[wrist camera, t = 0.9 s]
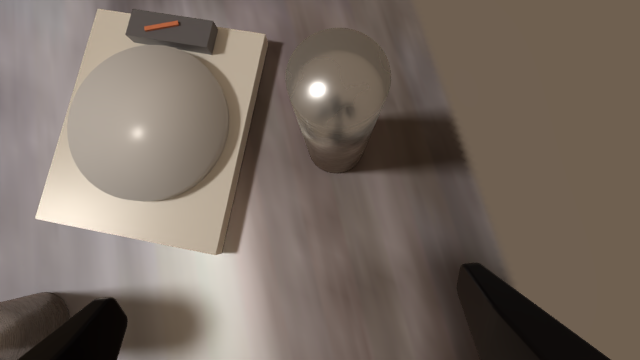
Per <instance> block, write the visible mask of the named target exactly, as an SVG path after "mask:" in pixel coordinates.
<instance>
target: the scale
mask: <svg viewBox="0 0 640 360" xmlns="http://www.w3.org/2000/svg"><path fill="white" fill-rule="evenodd" d="M267 48H268V41H267V38H266V35H265V34H260V33H254V32H247V31H241V30H234V29H227V28H221V27H216V25H215V23H214V22H213V21H209V20H203V19H196V18H189V17H183V16H176V15H170V14H163V13H156V12H150V11H143V10H136V9H132V13H131V14H129V13H122V12H116V11H109V10H103V9H98V10H97V13H96V17H95V20H94V23H93V27H92V30H91V33H90V37H89V40H88V43H87V47H86V50H85V53H84V57H83V60H82V63H81V67H80V70H79V73H78V77H77V80H76V84H75V87H74V90H73V94H72V97H71V100H70V104H69V107H68V110H67V114H66V117H65V120H64V124H63V127H62V130H61V134H60V137H59V140H58V144H57V147H56V150H55V154H54V157H53V160H52V164H51V167H50V171H49V174H48V177H47V181H46V184H45V187H44V191H43V194H42V197H41V201H40V204H39V207H38V211H37V214H36V217H35V219H39V220H44V221H49V222H54V223H59V224H64V225H69V226H74V227H79V228H84V229H89V230H94V231H98V232H103V233H108V234H113V235H118V236H123V237H128V238H133V239H138V240H143V241H148V242H153V243H158V244H163V245H168V246H173V247H178V248H183V249H188V250H193V251H198V252H203V253H208V254H213V255H217V254H221V253H222V250H223V246H224V241H225V237H226V232H227V228H228V223H229V219H230V214H231V210H232V205H233V201H234V196H235V192H236V187H237V183H238V178H239V174H240V169H241V165H242V160H243V156H244V151H245V147H246V142H247V138H248V133H249V129H250V124H251V120H252V115H253V111H254V106H255V102H256V97H257V93H258V88H259V84H260V79H261V75H262V70H263V66H264V61H265V57H266V52H267Z"/></svg>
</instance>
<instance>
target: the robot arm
mask: <svg viewBox="0 0 640 360" xmlns="http://www.w3.org/2000/svg"><path fill="white" fill-rule="evenodd" d="M457 292H458V296H459V299H460V302H461V305H462V308H463V311H464V314H465V317H466V320H467V323H468V326H469V329H470V331H471V334H472V337H473V340H474V343H475V346H476V349H477V352H478V354H479V357H480V359H481V360H610V359H609V358H608V357H606V356H605V355H604V354H602V353H601V352H600V351H598V350H597V349H596V348H594V347H593V346H591V345H590V344H589V343H587V342H586V341H585V340H583V339H582V338H580V337H579V336H578V335H577V334H575V333H574V332H572V331H571V330H570V329H568V328H567V327H566V326H564V325H563V324H561V323H560V322H559V321H557V320H556V319H555V318H553V317H552V316H550V315H549V314H548V313H547V312H545V311H544V310H542V309H541V308H540V307H538V306H537V305H536V304H534V303H533V302H531V301H530V300H529V299H528V298H526V297H525V296H523V295H522V294H521V293H519V292H518V291H517V290H515V289H514V288H513V287H511V286H510V285H508V284H507V283H506V282H504V281H503V280H502V279H500V278H499V277H498V276H496V275H495V274H493V273H492V272H491V271H489V270H488V269H487V268H485V267H484V266H483V265H481V264H479V263H467V264H462V265H461V267H460V271H459V277H458V283H457ZM127 322H128V321H127V316H126V314H125V313H124V311H123V310H122V308H121V307H120V305H119V304H118V302H117V301H116V299H114V298H112V297H108V298H98V299H95V300H94V301H92V302H91V303H90V304H88V305H87V306H86V307H84V308H83V309H82V310H81V311H79V312H78V313H77V314H75V315H74V316H73V317H71V318H70V319H69V320H68V321H66V322H65V323H64V324H62V325H61V326H60V327H59V328H57V329H56V330H55V331H53V332H52V333H51V334H50V335H48V336H47V337H46V338H44V339H43V340H42V341H41V342H39V343H38V344H37V345H35V346H34V347H33V348H32V349H30V350H29V351H28V352H26V353H25V354H24V355H23V356H21V357H20V358H19V359H17V360H117V357H118V354H119V351H120V347H121V344H122V341H123V338H124V334H125V331H126V328H127Z"/></svg>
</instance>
